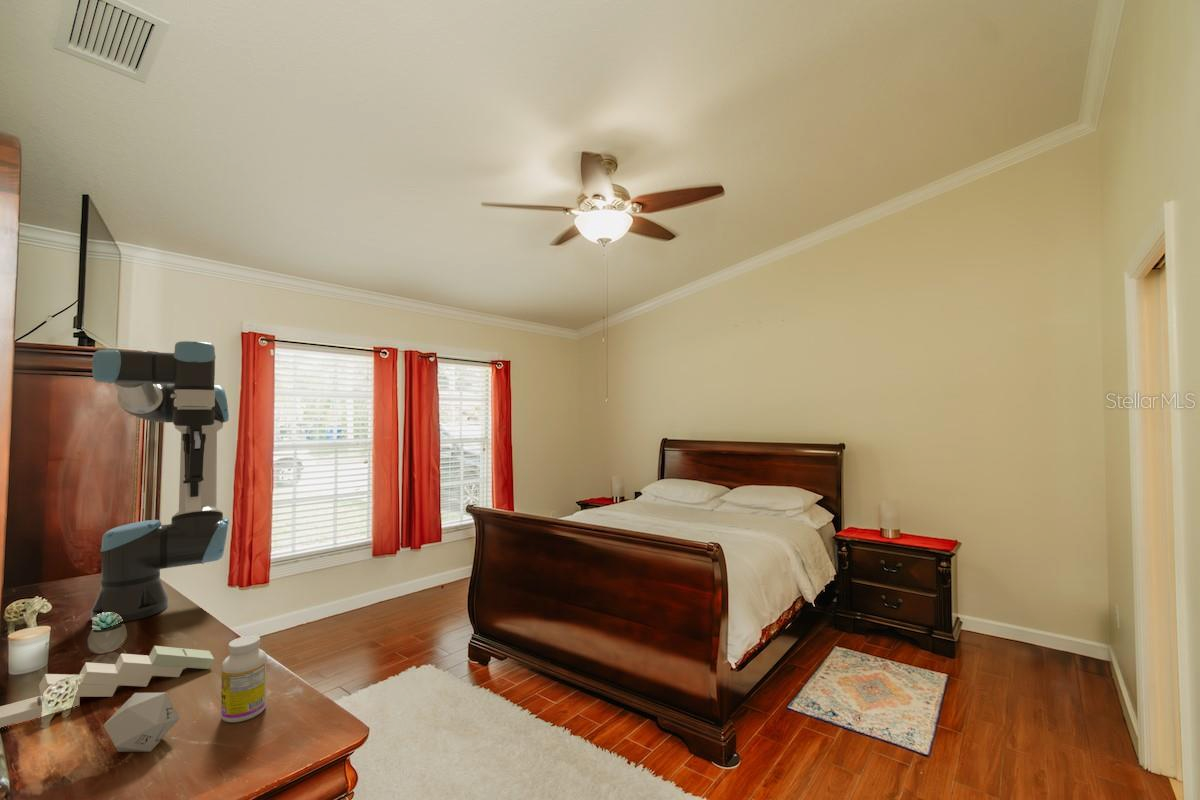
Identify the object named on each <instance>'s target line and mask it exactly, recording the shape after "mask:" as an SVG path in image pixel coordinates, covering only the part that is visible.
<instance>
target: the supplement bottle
mask: <svg viewBox="0 0 1200 800" xmlns="http://www.w3.org/2000/svg"><path fill="white" fill-rule="evenodd" d="M260 645H261V636H259V635H254V634H252V635H244V636H239V637H237V638H235V639H233V640H231V641H230V642H229V643H228V646H227V647H228V649H227V650H228V652H229V655H228V656H226V658H225V659H224V660H223V661H222V664H221V688H220V689H221V690H220V691H221V692H220V695H221V696H220V697H221V699H220V701H221V702H220V703H221V704H220V705H221V706H220V709H221V711H220V712H221V715H220V716H221V719H222V721H224V722H226V723H230V724H231V723H235V724H236V723H240V722H245V721H248V720H251V719H253V718H255V717H257V716H258V715H259V714H261V713H262V712H263V711H264V710H265V708H266V706H267V653H266V651H264V650H263V649H261V648H260Z"/></svg>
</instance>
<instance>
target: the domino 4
mask: <svg viewBox="0 0 1200 800" xmlns="http://www.w3.org/2000/svg"><path fill="white" fill-rule="evenodd" d="M148 656H149V658H150V661H151V663H152V665H160V666H174V667H184V668H190V669H201V670H202V669H203V670H210V669H211V667H212V665H213V663H214V661H215V658H214V656H213V655H212V653H211V651H210V650H206V649H205V650H203V649H202V650H201V649H194V648H181V647H173V646H172V647H171V646H161V645H154V646H153V647H152V649H151V651H150V653H149V655H148Z"/></svg>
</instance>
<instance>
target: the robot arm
mask: <svg viewBox="0 0 1200 800" xmlns="http://www.w3.org/2000/svg"><path fill="white" fill-rule="evenodd" d="M91 363H92V365H91V369H92V370H91V372H92V377H93V380H94V381H96V382H97V383H108V384H113V386H114V387H115V389H116V390H117V403H118V404H119V406H120V407H121V409H123V410H124V411H125V412H126V413H128V414H130V415H132V416H134V417H137V418H139V419H142V420H145V421H150V422H154V423H172V424H173V425H174V428H175V429H176V430H177V431H178V432H180V451H179V452H180V456H179V457H180V459H179V488H178V489H179V491H178V493H179V494H178V511H177V512H176V513H175V514H174V515H172V517H171V523H170V524H169V523H168V524H162V522H161V520H159V519H151V520H149V519H148V520H147V519H146V520H142V521H141V520H140V521H136V522H131V523H127V524H123V525H119V526H115V527H113V528H111V529H108V530H107V531H106V532H105V533H103V535H102V539H101V548H100V549H99V550H100V553H101V557H100V558H101V560H100V562H101V568H100V569H101V570H100V589H99V592H98V595H97V597H96V599H95V602H94V604H93V607H92V609H91V612H90V621H91V620H92V618H93V617H94V616H95V615H97V614H99V613H102V612H115V613H117V614H119V615H120V616H121V617H122V619H123V621H124V622H123V623H127V622H133V621H137V620H142V619H144V618H148V617H150V616H154V615H157V614H159V613H161V612H163V611H164V610H166V609H167V608H168V606H169V598H168V594H167V592H166V590H165V587H164V585H163V583H162V581H161V570H162V569H163V570H165V569H171V568H177V567H179V568H180V567H185V566H193V565H200V564H201V565H203V564H205V563H212V562H217V561H219V560H221V559H222V558H223V556H224V554H225V547H226V540H227V535H228V529H229V523H230V522H229V521H230V520H229V518H226V517H223V516H224V515H223V514H224V513H223V511H222V510H220V509H219V508H218V507H217V485H218V484H217V482H218V481H217V474H218V473H217V472H218V471H217V468H218V467H217V462H218V459H217V458H218V457H217V456H218V452H217V451H218V449H217V448H218V432H219V431H220V430H221V429H223V427H224V423H226V422H229V419H230V418H229V416H230V414H229V409H228V408H229V406H228V399H227V394H226V391H225V388H224V387H223V386H222V385H218V384H215V379H216V378H215V376H216V372H215V371H216V351H215V345H214V344H212V343H211V342H205V341H204V342H203V341H192V340H191V341H189V340H188V341H187V340H180V341H178V342H176V343H175V344H174V352H158V351H156V352H155V351H140V350H118V349H99V350H96V351H95V352H94V353H93V355H92V361H91Z"/></svg>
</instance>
